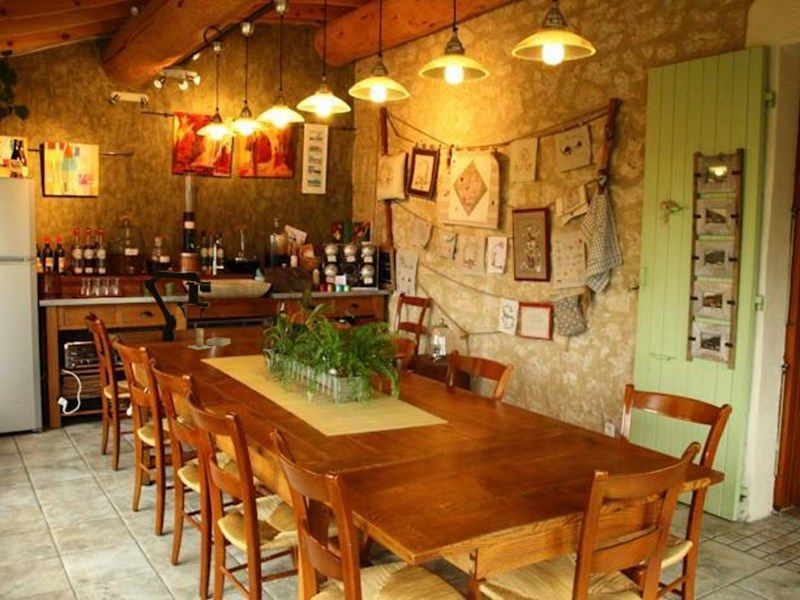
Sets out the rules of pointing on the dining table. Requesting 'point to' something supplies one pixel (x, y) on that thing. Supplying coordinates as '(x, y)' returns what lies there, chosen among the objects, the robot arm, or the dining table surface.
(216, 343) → the collar
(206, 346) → the pad
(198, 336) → the post
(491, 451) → the dining table surface
